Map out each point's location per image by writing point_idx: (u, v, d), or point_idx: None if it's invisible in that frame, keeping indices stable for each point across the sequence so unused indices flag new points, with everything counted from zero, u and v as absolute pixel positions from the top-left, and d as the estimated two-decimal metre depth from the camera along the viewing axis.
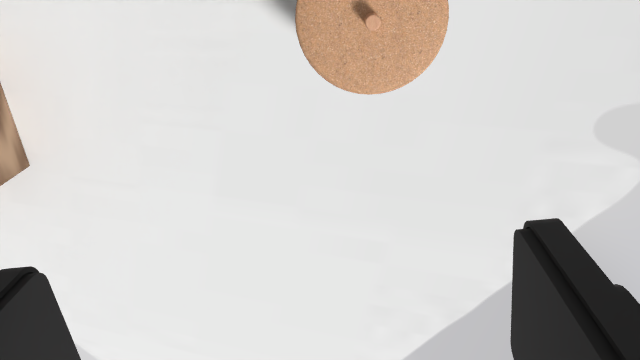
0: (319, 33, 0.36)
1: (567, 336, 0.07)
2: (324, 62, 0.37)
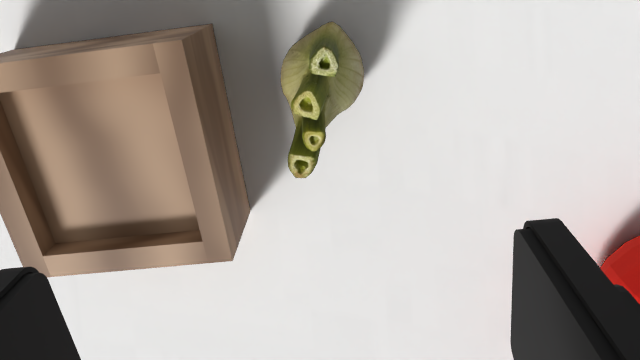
0: None
1: (567, 336, 0.07)
2: None
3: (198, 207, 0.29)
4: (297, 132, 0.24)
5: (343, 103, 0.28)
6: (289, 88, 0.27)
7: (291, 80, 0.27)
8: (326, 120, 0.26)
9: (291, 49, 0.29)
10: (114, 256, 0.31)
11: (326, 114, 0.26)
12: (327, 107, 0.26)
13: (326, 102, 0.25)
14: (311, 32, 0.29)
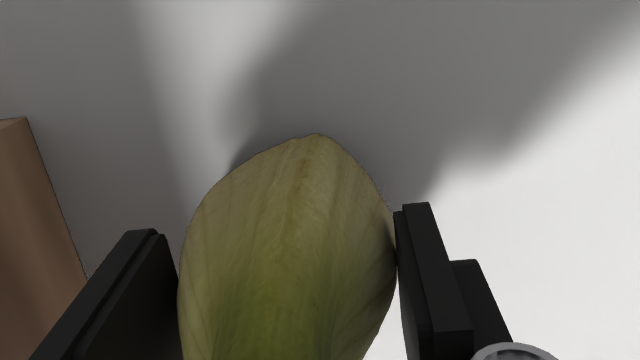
0: None
1: (408, 299, 0.08)
2: None
3: None
4: None
5: None
6: None
7: None
8: None
9: (203, 208, 0.11)
10: None
11: None
12: None
13: None
14: (260, 156, 0.11)
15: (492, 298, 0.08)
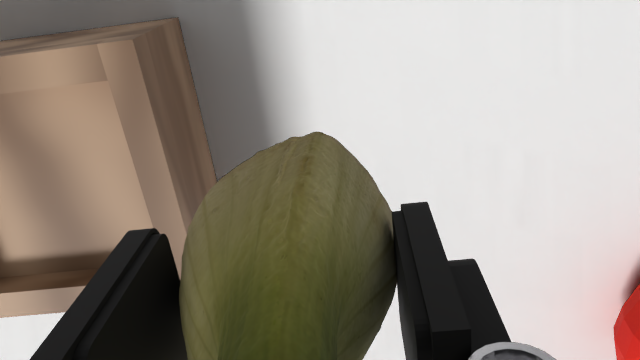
0: None
1: (406, 299, 0.08)
2: None
3: None
4: None
5: None
6: None
7: (186, 349, 0.08)
8: None
9: (205, 206, 0.11)
10: (64, 295, 0.26)
11: None
12: None
13: None
14: (261, 154, 0.11)
15: (490, 298, 0.08)
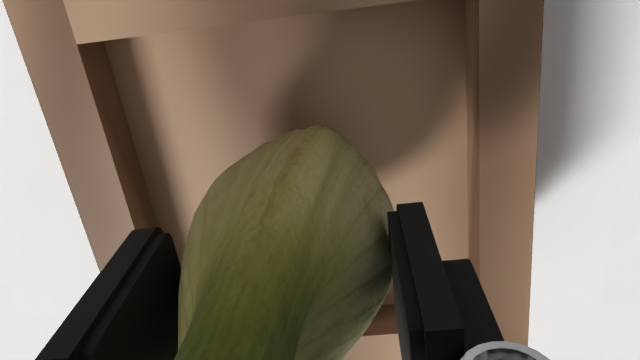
0: None
1: (400, 298, 0.08)
2: None
3: (488, 267, 0.15)
4: None
5: None
6: None
7: None
8: None
9: (208, 194, 0.11)
10: None
11: None
12: None
13: None
14: (264, 146, 0.11)
15: (484, 297, 0.08)
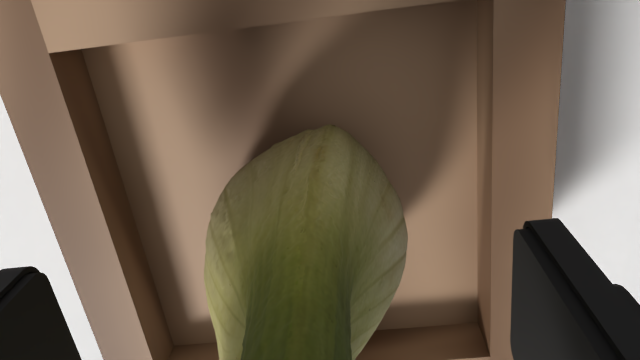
0: None
1: (566, 335, 0.07)
2: None
3: (499, 293, 0.14)
4: None
5: None
6: None
7: (213, 321, 0.09)
8: None
9: (226, 194, 0.11)
10: None
11: None
12: None
13: None
14: (277, 146, 0.12)
15: None
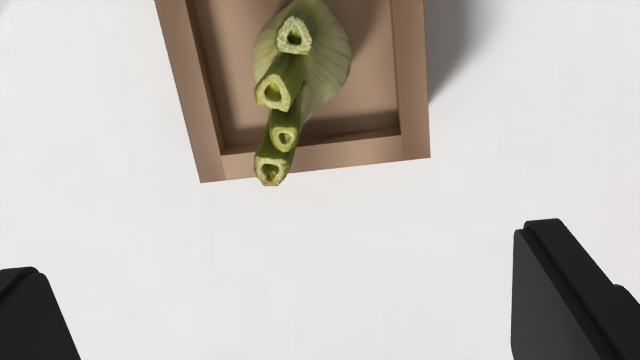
0: None
1: (567, 336, 0.07)
2: None
3: (403, 94, 0.27)
4: (267, 128, 0.19)
5: (326, 91, 0.23)
6: (259, 74, 0.23)
7: (262, 65, 0.22)
8: (305, 112, 0.21)
9: (263, 27, 0.24)
10: (300, 154, 0.28)
11: (304, 105, 0.21)
12: (305, 96, 0.21)
13: (303, 90, 0.20)
14: None
15: None
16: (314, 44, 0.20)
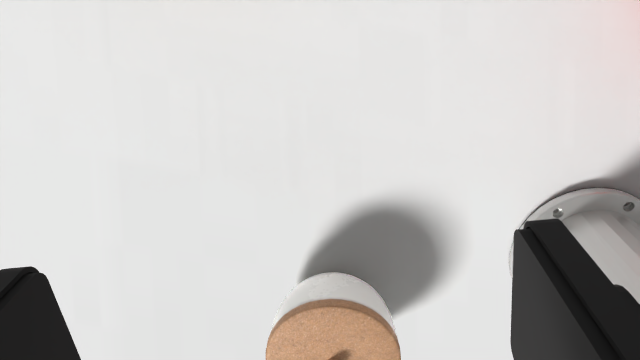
0: (319, 326, 0.39)
1: (567, 336, 0.07)
2: (293, 329, 0.39)
3: None
4: None
5: None
6: None
7: None
8: None
9: None
10: None
11: None
12: None
13: None
14: None
15: None
16: None
